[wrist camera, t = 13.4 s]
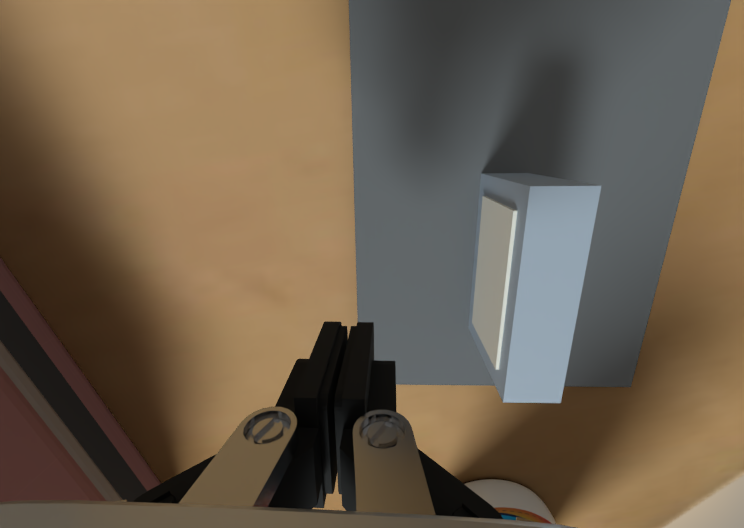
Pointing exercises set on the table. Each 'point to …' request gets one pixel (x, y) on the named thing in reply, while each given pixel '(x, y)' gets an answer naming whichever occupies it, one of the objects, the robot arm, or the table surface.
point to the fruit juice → (512, 500)
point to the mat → (518, 159)
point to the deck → (529, 279)
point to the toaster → (56, 418)
